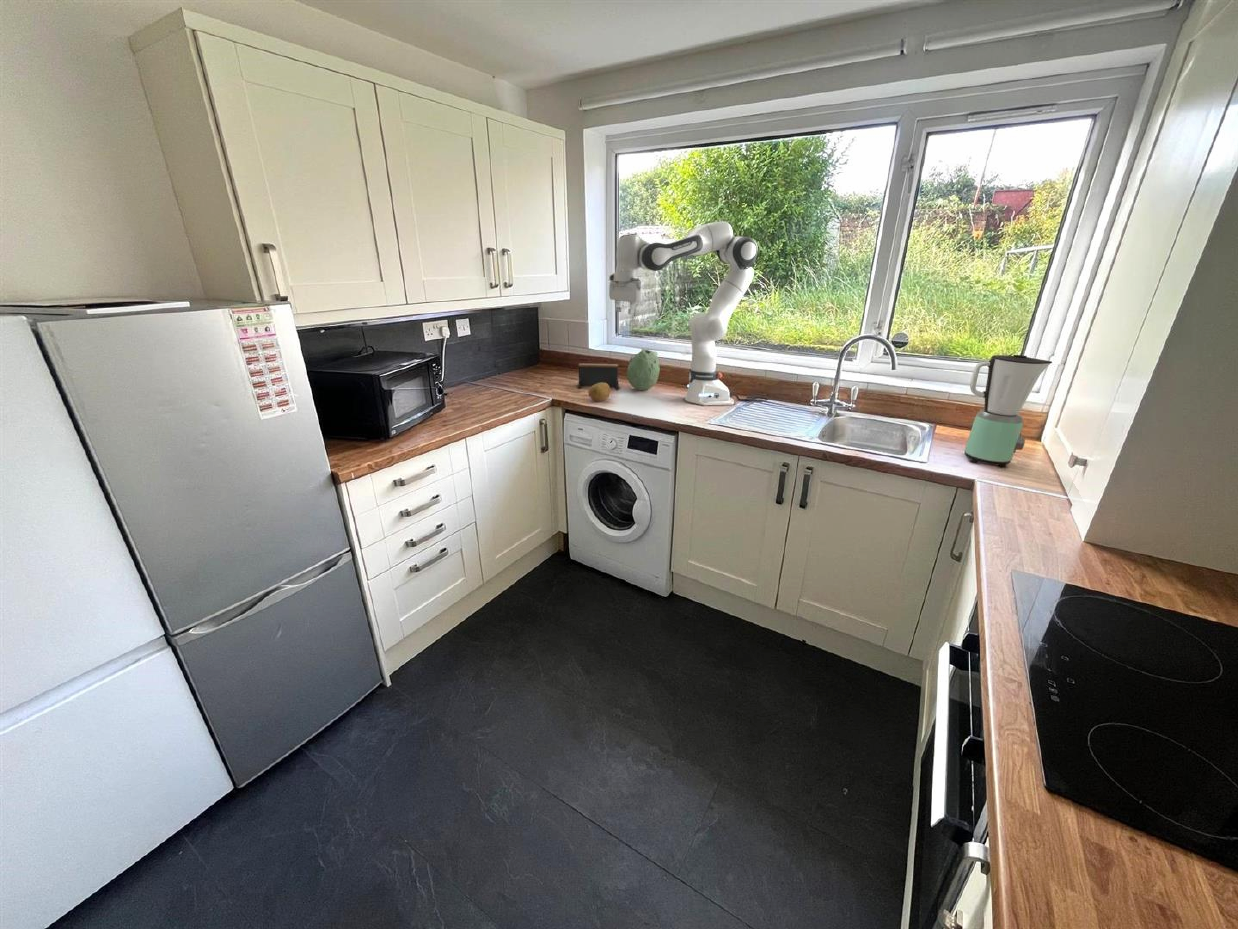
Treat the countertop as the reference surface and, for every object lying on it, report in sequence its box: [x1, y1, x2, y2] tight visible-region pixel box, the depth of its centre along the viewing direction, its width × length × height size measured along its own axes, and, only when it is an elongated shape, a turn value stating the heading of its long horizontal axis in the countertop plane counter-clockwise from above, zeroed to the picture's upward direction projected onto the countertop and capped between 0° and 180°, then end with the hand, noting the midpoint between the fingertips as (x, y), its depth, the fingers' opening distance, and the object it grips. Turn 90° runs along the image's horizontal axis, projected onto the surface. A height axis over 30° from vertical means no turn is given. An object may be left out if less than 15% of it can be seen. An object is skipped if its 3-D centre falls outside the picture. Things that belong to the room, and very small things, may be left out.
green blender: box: [964, 354, 1053, 469], centre depth 161 cm, size 19×13×35 cm
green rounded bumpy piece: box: [626, 347, 661, 392], centre depth 245 cm, size 16×19×20 cm
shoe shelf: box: [577, 362, 620, 391], centre depth 250 cm, size 20×9×11 cm, turn 94°
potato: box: [587, 382, 612, 402], centre depth 225 cm, size 10×14×8 cm
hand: (624, 312), depth 207 cm, fingers open, 8 cm apart
